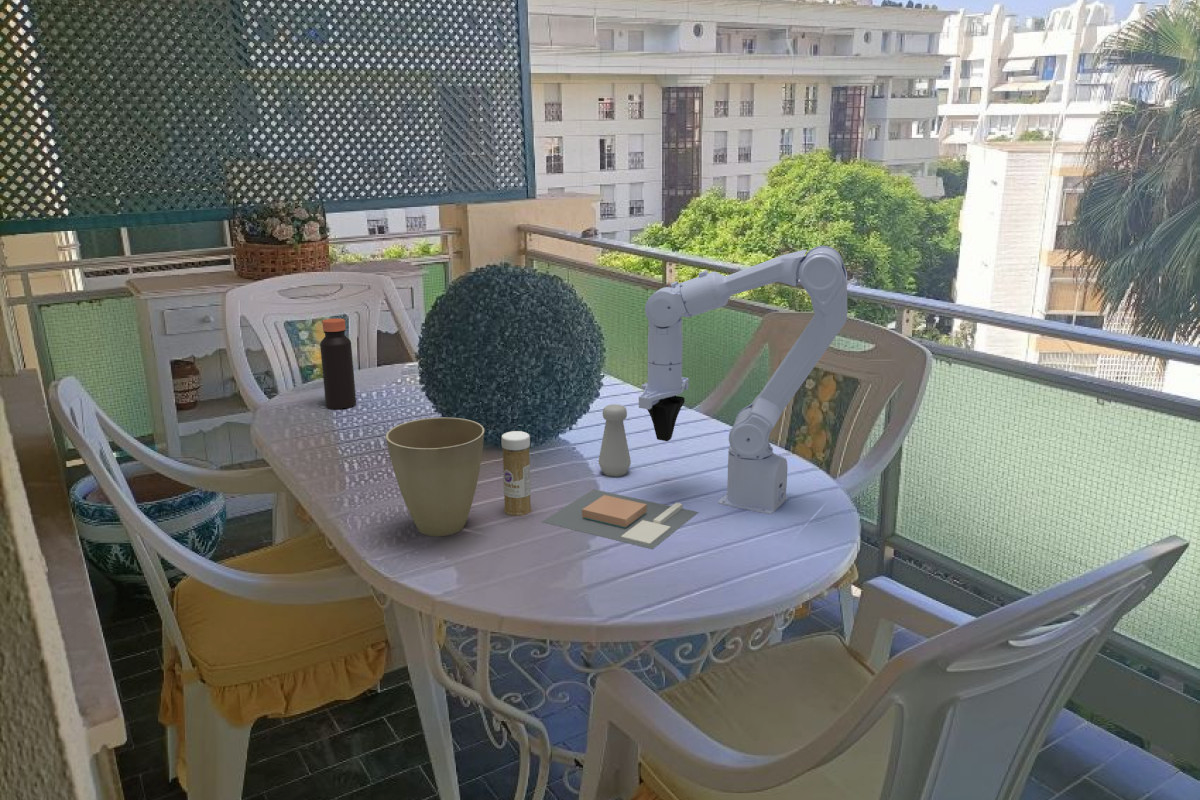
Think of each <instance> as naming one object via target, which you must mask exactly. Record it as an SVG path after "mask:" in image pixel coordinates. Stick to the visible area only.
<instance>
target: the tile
mask: <svg viewBox="0 0 1200 800" xmlns="http://www.w3.org/2000/svg"><path fill="white" fill-rule="evenodd" d="M646 512H647V504H643V503H638V502H634V501H629V500H625V499H620V498H616V497H611V496H606V495H604V496H602V497H601V498H599V499H598V500H596V501H594V502H593V503H591V504H590V505H588V506H587V507H585V508H583V509H582V517H584V519H588V520H592V521H597V522H601V523H605V524H609V525H613V526H618V527H622V528H626V527H628V526H629V525H630V524H632V523H633V522H635V521H636V520H637V519H639V518H640V517H641V516H643V515H644V514H645V513H646Z"/></svg>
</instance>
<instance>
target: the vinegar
mask: <svg viewBox="0 0 1200 800" xmlns="http://www.w3.org/2000/svg"><path fill="white" fill-rule="evenodd" d="M321 324H322V331H323V334H324V337H323V339H321V341H320V343H319V347H320V348H319V350H320V358H321V369H322V378H323V386H324V387H323V389H324V399H325V400H324V401H325V406H326V408H327V409H330V408H332V409H331V410H344V409H343V408H346V409H350V408H349V407H351V408H353V407H355V406H356V405H357V398H356V397H357V394H356V383H355V374H354V373H355V372H354V363H353V362H354V361H353V351H352V350H353V348H352V341H351V339H349V337H347V335H345V332H346V319H344V318H338V317H337V318H333V317H332V318H326V319H324V320H322V322H321ZM354 405H355V406H354ZM352 406H353V407H352Z"/></svg>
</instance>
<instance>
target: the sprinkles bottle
mask: <svg viewBox="0 0 1200 800" xmlns="http://www.w3.org/2000/svg"><path fill="white" fill-rule="evenodd" d="M530 445H531V436H530V434H529V433H527V431H525V432H524V431H521V430H518V431H517V430H513V431H508V432H505V433H503V434H502V435H501V448H502V462H503V463H502V465H503V466H502V467H503V479H502V480H503V494H504V498H503V499H504V508H503V512H504V513H505V514H506V515H508V516H524V515H527V514H530V513H531V512H532V507H531V506H532V505H531V491H532V489H531V462H530Z"/></svg>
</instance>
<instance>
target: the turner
mask: <svg viewBox="0 0 1200 800" xmlns="http://www.w3.org/2000/svg"><path fill="white" fill-rule="evenodd" d="M670 506H671V507H670V508H668V509H667V510H666V511H664V512H663V513H662V514H660V515H659V516H658V517H656V518H655V519H654V520H653V522H649V521H644V520H642V521H641V522H640V523H638V524H637V525H635V526H634V527H633V528H631V529H630V530H629V531H627V532H626V533H625V534H623V535H622V536H621V538H623V539H627V540H631V541H635V542H639V543H643V544H647V545H651V544H652V543H653V542H654V541H656V540H657V539H658V538H660V537H661V536H662V535H663V534H665V533H666V532H667V531H668V530H670V529H671V527H670V526H666V525H662V524H663V523H665V522H666V521H667V520H668V519H670V518H671V517H672V516H674V515H675V514H676V513H677V512H679V511H680V510H681V509H684V508H683V503H680V502H679V503H678V502H675V503H674V504H673V505H670Z"/></svg>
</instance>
